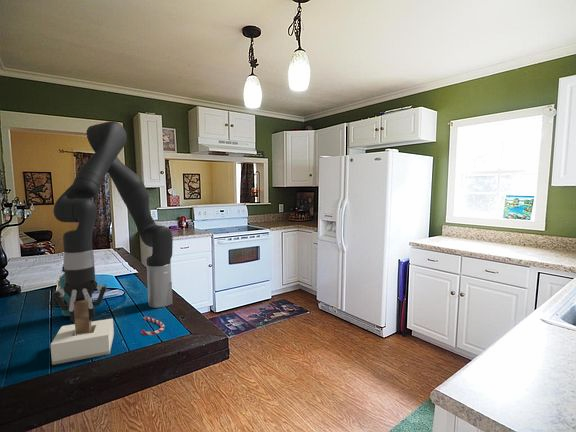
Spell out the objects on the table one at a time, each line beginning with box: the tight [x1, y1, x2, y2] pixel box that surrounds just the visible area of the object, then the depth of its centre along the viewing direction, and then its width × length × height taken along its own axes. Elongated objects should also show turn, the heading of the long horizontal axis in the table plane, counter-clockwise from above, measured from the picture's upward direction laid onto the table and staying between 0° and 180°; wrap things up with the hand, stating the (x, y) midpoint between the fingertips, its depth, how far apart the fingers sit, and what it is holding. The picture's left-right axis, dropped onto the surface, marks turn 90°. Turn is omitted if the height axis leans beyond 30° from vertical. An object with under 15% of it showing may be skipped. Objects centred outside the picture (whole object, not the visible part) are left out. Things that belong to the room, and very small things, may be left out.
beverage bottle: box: [58, 265, 71, 317], centre depth 116 cm, size 6×7×20 cm
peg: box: [74, 299, 92, 334], centre depth 93 cm, size 4×4×10 cm
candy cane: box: [140, 316, 165, 336], centre depth 110 cm, size 8×1×15 cm
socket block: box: [50, 318, 115, 366], centre depth 94 cm, size 14×12×6 cm
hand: (83, 320), depth 93 cm, fingers closed on peg, 3 cm apart
